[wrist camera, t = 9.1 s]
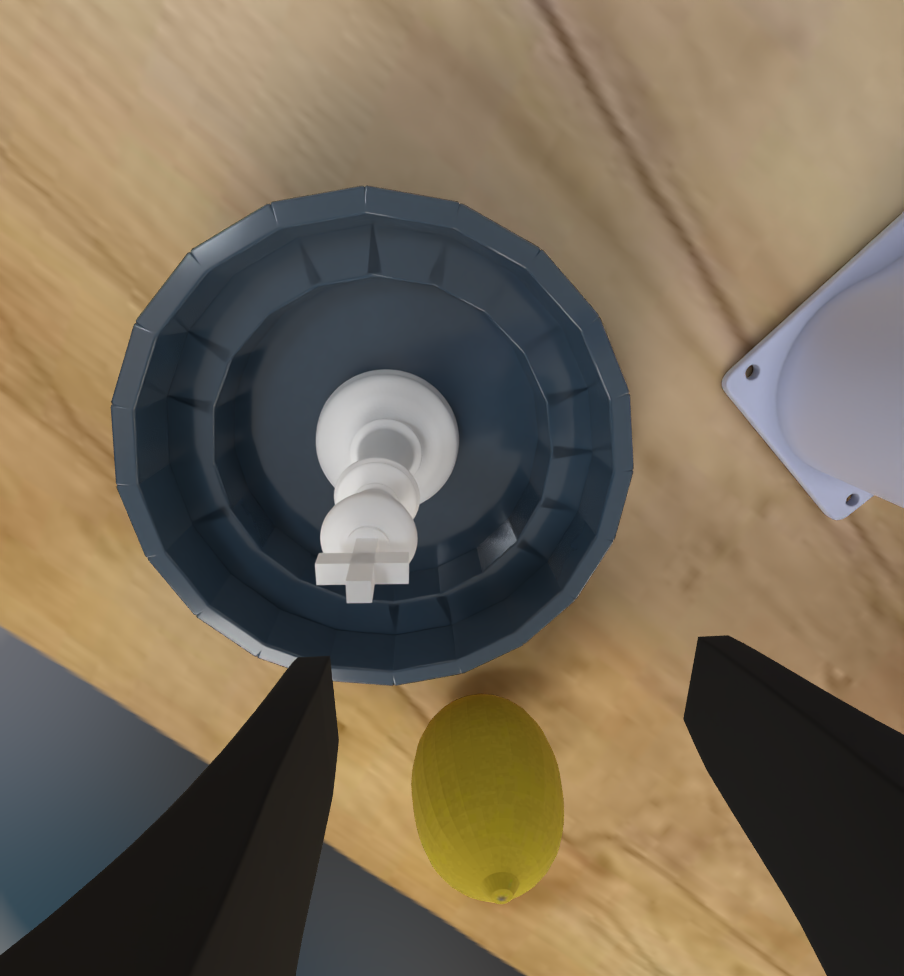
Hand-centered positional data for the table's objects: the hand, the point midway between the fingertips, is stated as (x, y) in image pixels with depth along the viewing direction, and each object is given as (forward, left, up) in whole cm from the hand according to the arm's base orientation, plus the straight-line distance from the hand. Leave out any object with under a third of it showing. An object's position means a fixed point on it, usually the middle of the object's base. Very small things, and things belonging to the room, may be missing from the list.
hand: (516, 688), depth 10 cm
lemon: (+7, +7, -11) cm, 15 cm away
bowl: (0, -4, -10) cm, 11 cm away
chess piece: (0, -4, -10) cm, 11 cm away
